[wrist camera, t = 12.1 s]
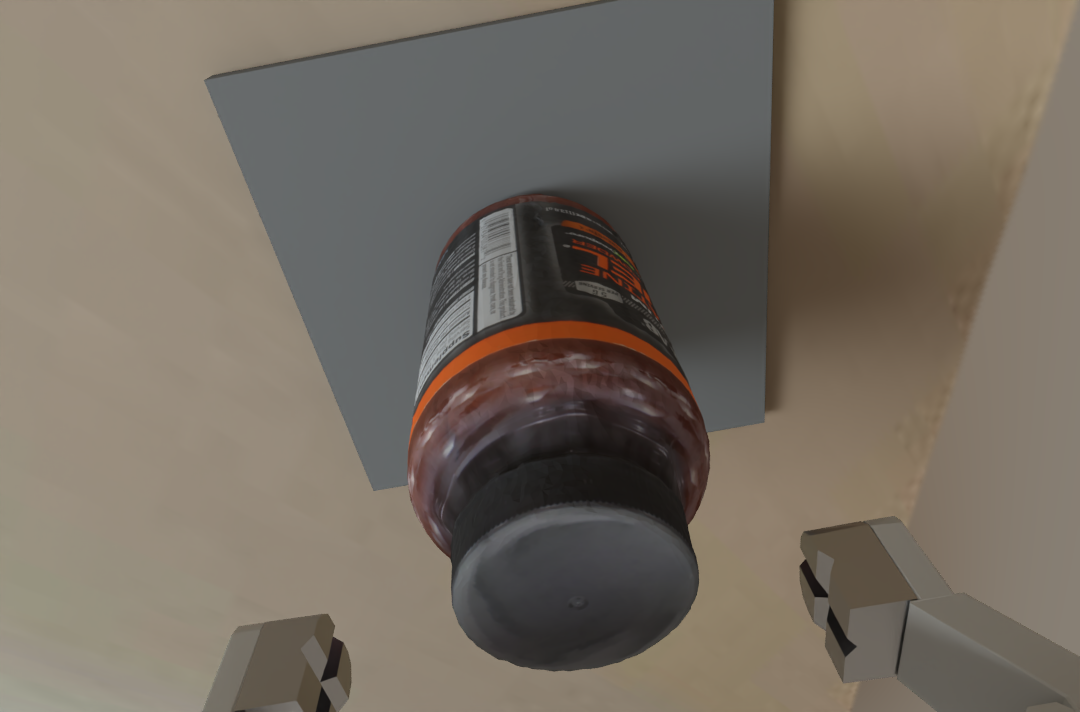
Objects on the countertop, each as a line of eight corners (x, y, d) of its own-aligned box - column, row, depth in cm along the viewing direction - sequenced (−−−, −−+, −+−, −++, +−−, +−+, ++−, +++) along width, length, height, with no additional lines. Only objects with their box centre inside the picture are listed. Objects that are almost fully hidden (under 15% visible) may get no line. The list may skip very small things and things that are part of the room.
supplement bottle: (673, 272, 20) (842, 581, 11) (540, 397, 23) (584, 746, 13) (524, 139, 18) (575, 389, 8) (390, 293, 20) (311, 631, 11)
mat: (758, 411, 24) (764, 422, 24) (375, 479, 25) (373, 490, 24) (765, -31, 17) (774, -30, 16) (212, 75, 17) (204, 80, 17)
